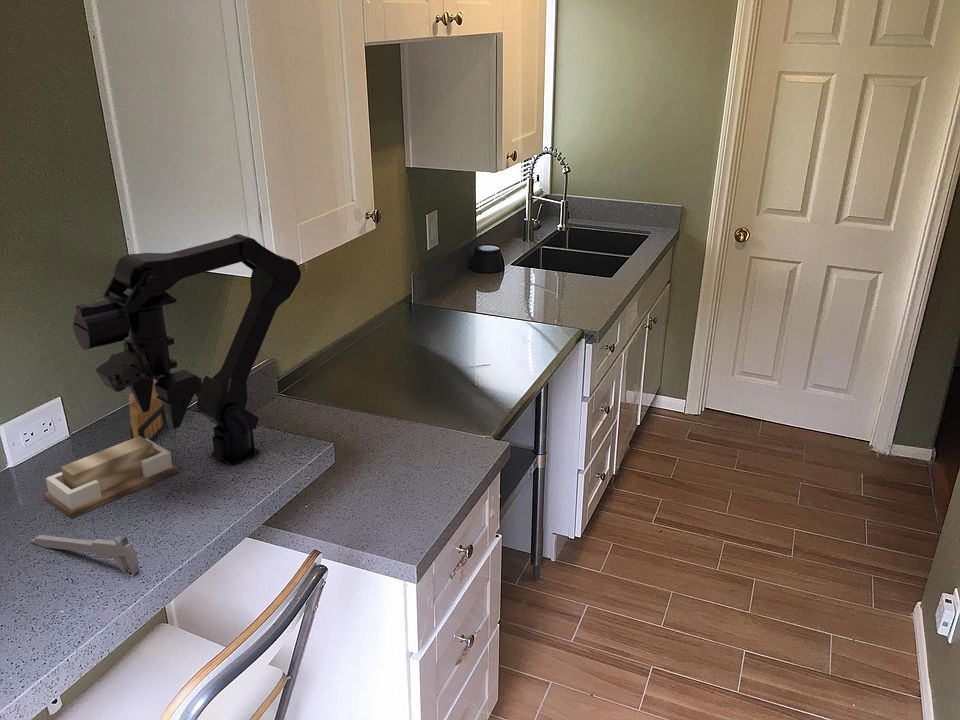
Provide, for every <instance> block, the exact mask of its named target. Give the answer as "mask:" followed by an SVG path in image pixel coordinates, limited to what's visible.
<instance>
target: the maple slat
mask: <svg viewBox="0 0 960 720" xmlns="http://www.w3.org/2000/svg"><path fill="white" fill-rule="evenodd" d="M153 443H154V442H153ZM153 443H152V442H150V441H148V440H146V439H144V438H143V437H141V436H138V437H136V438H133V439H128V440H126V441H123V442H121V443H118V444H116V445H113V446H111V447H108V448H105V449H104V450H101V451H97V452H96V453H93V454H90V455H87V456H85V457H83V458H79V459H78V460H75V461H72V462H71V463H70V462H69V463H67V464H64V465H61V466H60V470H61V472H62V475H63V479H64V484H65V486H67V487H68V488H70V489H71V490H72V489H74V488H77V487H79V486H82V485H84V484H87V483H89V482H91V481H94V480H97V481H98V482H99V486H100V491H104V490H106V489H108V488H111V487H113V486H115V485H118V484H120V483H122V482H125V481H127V480H129V479H131V478H134V477H136V476H138V475H141V474H143V472H142V466H141V461H142V460H145V459H147V458H150V457H152V456H154V450H153Z"/></svg>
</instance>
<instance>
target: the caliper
mask: <svg viewBox="0 0 960 720" xmlns="http://www.w3.org/2000/svg"><path fill="white" fill-rule="evenodd" d="M29 543H30V544H35V545H36V546H39V547H42V548H46V549H57V550H66V551H71V552H72V551H73V552H81V553H90V554H95V556H96V558H97V559H104V560H107V559H109V558H113V560H114V561H115V563H116V564H117V566H118V567H119V569H120V571H121V573H123V572H125V573H124V574H126V573H128V572H129V571H130V573H131V576H135V575H136V574H137V573H138V572H140V564H139V560H138V555H137V552H136V550H135V548H134V545H133V543H131V542H129V540H128V537H127V535H126V536H124V537H122V536H121V535H118V536H116V537H115V538H114V540H112V539H111V540H109V539H98V538H97V539H94V540H89V539H80V538H73V537H72V538H70V537H61V536H53V535H45V534H43V535H42V534H39V535H37V536H35V537H34V538H32V539H31V540H29ZM129 569H130V570H129ZM128 570H129V571H128ZM127 571H128V572H127Z"/></svg>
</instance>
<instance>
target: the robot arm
mask: <svg viewBox="0 0 960 720" xmlns="http://www.w3.org/2000/svg"><path fill="white" fill-rule="evenodd" d="M239 263H242V264H243V265H244V266H245V267H247V268H249V269H250V270H252V272H251V276H250V280H249V281H250V300H249V302H248V304H247V307H246V309H245V311H244V314H243V316H242V319H241V321H240V324H239V326H238V327H237V331H236V333H235V336H234V338H233V340H232V342H231V345H230V348H229V350H228V352H227V355H226V357H225V359H224V362H223V364H222V366H221V369H220V370H219V371H218V372H217V373H216V374H215V375H214V376H212V377H210V376H208V375H204V377H203V379H202V378H201V377H199V376H198V375H197V374H195V373H192V372H189V371H188V370H185V369H182V370H178V371H175V372H171V370H172V369H175V368H177V367H178V362H177V360H176V359H173V358H172V357H171V349H170V346H172V345H175V340H174V339H175V338H174V337H172V336H170V335H168V327H167V320H166V318H167V317H166V312H165V306H167V305H171V304H175V303H177V302H178V300H177V298H176V297H174V296H172V295H170V294H169V292H167V291H168V290H170V289H172V288H173V287H174V286H176V285H177V283H179V282H181V281H183V280H184V279H186V278H191V277H193V276H196V275H201V274H205V273H207V272H211V271H214V270H218V269H221V268H224V267H228V266H232V265H234V264H239ZM301 278H302V272H301V269H300V266H299V264H298V263H297V262H296V261H295V260H293V259H291V258H287V257H284V256H282V255H279V254H276V253H274V252H273V251H271V250H270V249H268V248H266V247H264V246H263V245H262V244H261V243H260V242H258V241H257V240H256V239H255V238H252V237H250V236H245V235H244V234H240V233H238V234H237V233H236V234H234V235H231V236H229V237H226V238H222V239H219V240H214V241H211V242H207V243H204V244H203V243H202V244H200V245H196V246H192V247H188V248H183V249H180V250H176V251H173V252H163V253H162V252H161V253H160V252H141V253H129V254H125V255H124V256H121V257H120V258H119V259H118V262H117V264H116V265H115V268H114V275H113V276H112V278H111V281H110V283H109V284H108V286H107V287H106V289H105V291H104V293H103V296H102V298H103V299H104V300H103V301H98V302H94V303H93V302H92V303H82V304H77V305H76V306H75V311H76V313H74V315H73V322H72V329H73V333H74V336H75V338H76V340H77V342H78V344H79V346H80V347H81V348H82V350H85V351H88V350H89V351H90V350H92V349H97V348H100V347H104V346H108V345H112V344H116V343H119V342H123V341H124V343H123V350H122V351H120V352H118V353H114V354H111V356H110V357H109V359H108V360H107V361H105V362H103V363H102V364H101V365H99V366H98V367H96V370H95V372H96V374H97V375H98V376H99V378H100V380H101V382H103V384H104V386H105V387H107V388H110V389H111V390H113V391H114V392H115V393H116V392H117V393H119V392H122V391H124V390H125V389H126V388H127V387H128V388H129V389H130V390H131V393H132V394H133V395H134V396H135V398H136V400H137V402H138V404H139V406H140V408H141V410H142V412H147V411H149V409H150V404H151V397H152V388H153V380H154V379H155V380H157V382H156V384H155V389H156V392H157V394H158V396H157V397H156V398H158V399H159V400H161V401H162V403H165V404H164V405H165V406H166V407H165V408H166V410H167V414H168V418H169V422H170V424H171V428H172V429H178V428H180V427H181V425H182V422H183V420H184V417H185V415H186V412H187V410H188V408H189V406H190V403H191V402H192V400H193V398H194V396H195V397H197V401H196V407H197V410H198V411H199V413H200V414H201V415H202V416H203V417H206V419H208V421H209V422H210V423H214V424H215V425H216V426H214V427H213V436H212V437H211V438H212V445H213V450H212V451H211V456H212V457H214V458H216V459H218V460H220V461H222V462H224V463H225V464H227V465H229V466H235V465H237V464H239V463H241V462H244V461H247V460H249V459H251V458H253V457H255V456H257V455H259V454H260V453H261V450H260V449H259V448H256V446H255V440H254V439H255V438H254V430H256V429H257V427H258V422H259V417H258V416H257V415H255V414H254V413H252V412H250V411H248V410H246V408H247V404H248V399H249V395H248V380H249V377H250V374H251V372H252V369H253V367H254V365H255V363H256V360H257V357H258V355H259V353H260V350H261V348H262V346H263V343H264V340H265V339H266V335H267V334H268V331H269V329H270V327H271V323H272V322H273V319H274V317H275V314H276V313H277V310H278V309H279V307H280V306H281V305H282V304H283V303H285V302H286V301H287V300H288V299H290V297H291V296H292V295H293V293H294V291H295V289H296V288H297V286H298V285H299V282H300V281H301ZM126 291H128V292H130V294H129V295H128V294H126V293H124V292H126ZM128 337H129V338H128ZM126 338H128V339H126Z"/></svg>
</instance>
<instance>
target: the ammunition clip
mask: <svg viewBox="0 0 960 720" xmlns="http://www.w3.org/2000/svg"><path fill="white" fill-rule="evenodd" d="M156 382H157V380H155V379H154V380H153V388H152V397H151V404H150V409H149V411H147V412H142V410H141V408H140V406H139V404H138V402H137V400H136V398H135V396H134V394H133V392H130V393H129V398H128V404H129V418H130V428H129V430H130V437H131V439H133V438H136V437H138V436H141V437H143V438H144V439H148V440H150V441H152V442H153V441H154V440H155V439H156V438H157V437H158V435H159V434H160V433H161V432H162V431H163V429H165V427H166V426H167V425H168V421H167V413H166V409H165V408H166V407H165V404H163V401H161V400H159V399H158V398H156V397H157V396H158V394H157V392H156V389H155V384H156ZM158 438H159V437H158ZM158 438H157V439H158ZM131 439H130V440H131ZM157 439H156V440H157ZM156 440H155V441H156ZM155 441H154V442H155ZM154 442H153V443H154Z"/></svg>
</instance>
